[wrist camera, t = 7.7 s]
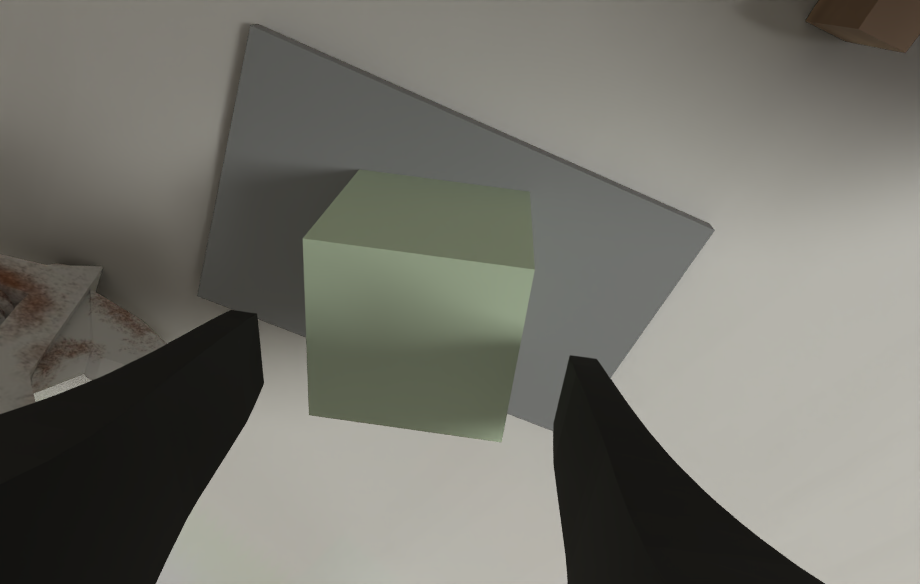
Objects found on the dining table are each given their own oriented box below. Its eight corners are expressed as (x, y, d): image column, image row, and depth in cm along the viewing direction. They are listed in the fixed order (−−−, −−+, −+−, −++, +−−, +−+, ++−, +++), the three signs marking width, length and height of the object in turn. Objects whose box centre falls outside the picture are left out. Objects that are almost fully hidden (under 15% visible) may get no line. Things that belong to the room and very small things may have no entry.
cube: (529, 191, 16) (535, 269, 12) (504, 334, 19) (501, 442, 14) (359, 169, 16) (302, 238, 12) (356, 314, 19) (309, 414, 14)
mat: (709, 224, 17) (714, 230, 16) (567, 427, 21) (568, 437, 21) (257, 23, 15) (250, 25, 15) (204, 288, 19) (197, 295, 19)
